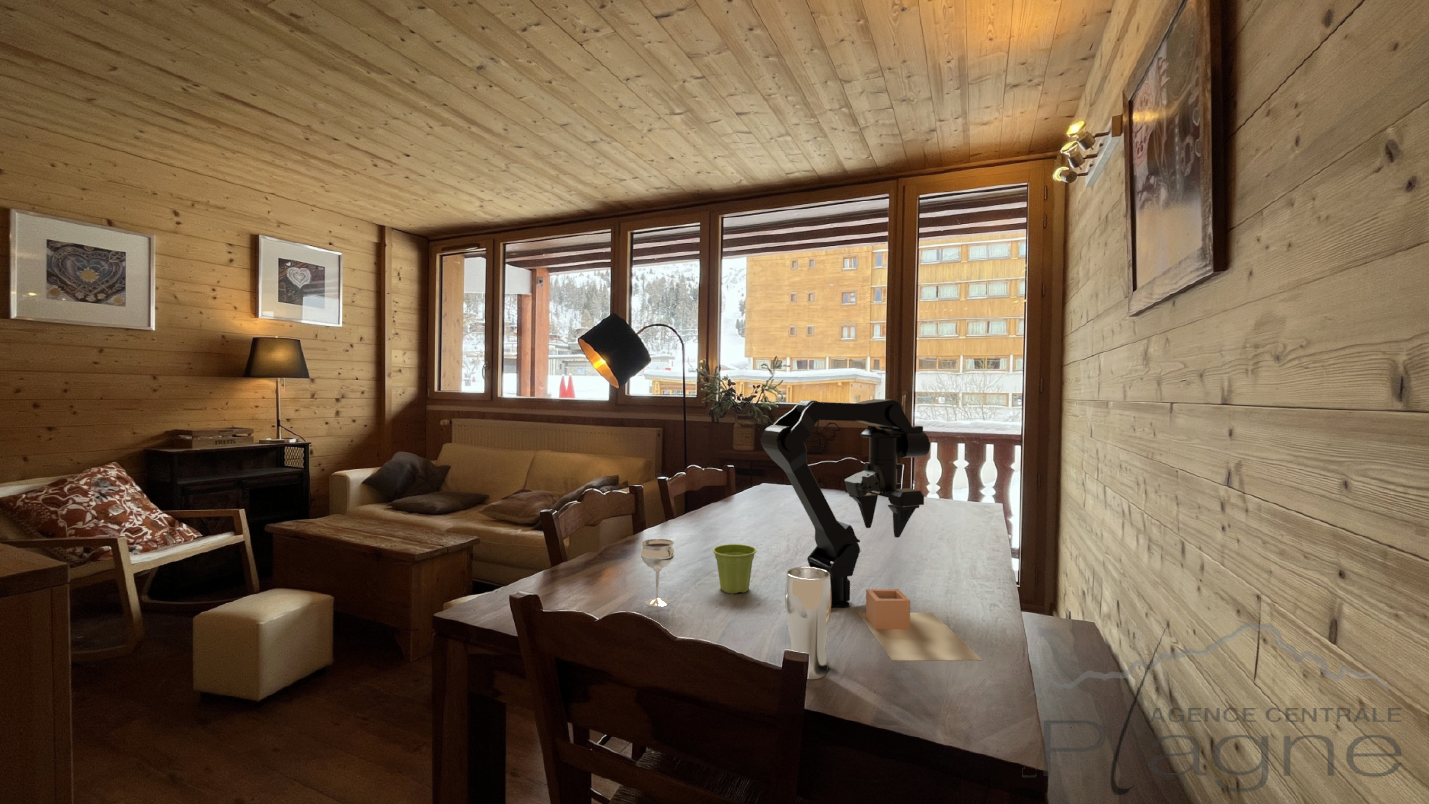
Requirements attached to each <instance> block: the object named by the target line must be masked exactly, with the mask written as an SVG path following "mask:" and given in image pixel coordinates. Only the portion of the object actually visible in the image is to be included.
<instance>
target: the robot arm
mask: <svg viewBox="0 0 1429 804" xmlns="http://www.w3.org/2000/svg"><path fill="white" fill-rule="evenodd" d="M904 412H905V411H903V407H902V405H901V404H900V401H899V400H897V399H889V398H888V399H885V398H884V399H883V398H882V399H875V398H874V399H868V400H862V401H859V402H854V403H852V402H832V401H830V402H829V401H817V400H814V399H813V400H812V399H811V400H810V399H804V400H800V401H799V402H797V404H796V405H795V406H794V407H793V408H792V409H791V410H789V411H788V412H786V413H785V414H784V415H782V416H781V417H779V418H778V419H777V420H775V422H774V423H773V425H772V424H771V425H769V426H767V427H766V428H765V429H764V430H763V433H762V434H761V438H760V444H761V447H762V448H763V450H764V451H765V452H766V454H767V455H768V456H769V458H770V459H771V460H772V461H773V462H774V463H775V464H777V466H778V467H780V468H781V470H783V471H784V473H785V475H786V476H787V478H788V479H787V480H788V481H789V482H790V485H791V486H792V488H793V490H794V492H795V494H796V495H797V497H798V499H799V501H800V503H801V504H802V506H803V509H804V510H805V513H806V514H807V516H808V518H809V520H810V522H811V524H812V525H813V528H814V541H815V544H816V547H815V548H814V549H812V552H810V554H809V555H808V557H807V559H806V560H807V563H808V567H815V568H820V569H824V570H826V571H828V572H829V573H830V583H831V608H833V607H834V608H835V607H836V608H838V607H839V608H840V607H842V608H843V607H845V608H847V607H850V606H851V605H850V602H849V601H850V600H851V580H850V579H849V577H852V576H853V575H854V571H855V568H856V566H857V565H856V564H857V562H858V559H859V555H860V553H861V547H860V545H859V543H861V540H860V539H858V537H857V536H856V534H855V530H854V528H853V526H852V525H851V524H847V523H845V522H842V521H839V520H838V519H837V518H836V516H835V514H834V512H833V510H832V509H831V507H830V505H829V503H828V501H827V498H826V496H825V495H824V493H823V491H822V489H821V488H820V486H819V483H818V482H817V479H816V478H815V476H814V474H813V471H812V470H811V467H810V466H809V465H808V457H807V456H808V455H807V453H808V449H807V446H806V443H805V441H806V440H807V439H808V438H809V437H810V436H811V434H812V433H813V431H814V428H815V426H816V423H817V422H818V421H845V422H846V421H848V422H849V421H851V422H853V421H854V422H858V423H862V424H865V425H868V426H867V427H866V429H865V430H863V431H862V432H861V433H860V437H861V438H868V439H869V443H868V444H869V446H868V448H869V449H868V450H869V451H868V452H869V453H868V462H864V465H863V470H862V471H860V472H859V471H858V472H856V473H854V474H853V475H851V476H849V477H847V478H844V483H845V488H844V489H845V493H847V494H848V497H850V498H852V499H853V500H854V501H855V502H856V503H857V505H858V508H859V510H860V513H861V517H862V520H863V523H864V526H865V529H871V527H872V524H873V522H874V517H875V511H876V507H877V501H878V497H879V496H880V497H884V498H887V500H888V501H889V503H890V504H887V507H888V508H889V510H890V511H891V513H892V528H893V536H894V538H897V539H898V538H900V537H901V535H902V534H903V532H904V530H905V527H906V526H907V524H908V522H909V520H910V519H911V518H912V517H911V516H913V514H914V512H915V511H916V510H917V509H920V506H922V505H923V506H924V505H925V494H924V493H923V491H921V490H919V489H914V488H909V487H908V488H902V483H899V482H898V470H902V465H903V464H902V463H898V458H901V459H905V458H922V457H926V456H927V455H928V453H929V451H930V449H931V442H930V439H929V437H928V435H927V433H925V431H924V426H923V425H912V424H911V423H910V421H909V419H908V417H907V415H906V414H905V413H904ZM878 428H879V429H878Z"/></svg>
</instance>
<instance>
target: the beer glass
mask: <svg viewBox="0 0 1429 804" xmlns="http://www.w3.org/2000/svg"><path fill="white" fill-rule="evenodd" d="M784 597H785V598H784V601H785V602H784V603H785V604H784V605H785V607H784V609H785V617H786V623H787V629H788V636H789V647H790V648H789V651H790V650H794V651H798V652H807V653H809V656H810V665H809V679H808V680H819V679H822V678H824V677H826V675H827V674H828V672H829V670H828V669H829V668H828V665H827V662H828V661H827V658H826V643H827V635H828V631H829V625H830V622H831V621H830V620H831V614H832V613H831V612H832V607H831V583H830V573H829V572H828V571H826V570H824V569H820V568H815V567H810V566H796V567H791V568H789V569H787V571H786V582H785V595H784Z"/></svg>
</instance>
